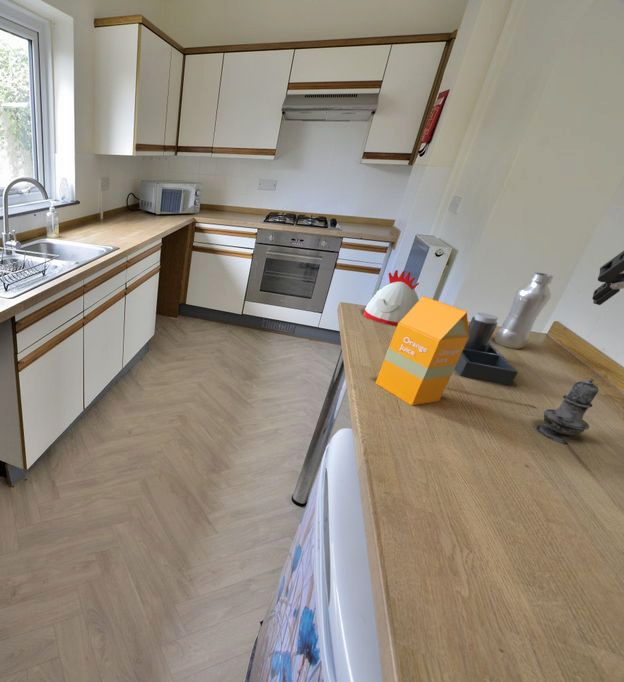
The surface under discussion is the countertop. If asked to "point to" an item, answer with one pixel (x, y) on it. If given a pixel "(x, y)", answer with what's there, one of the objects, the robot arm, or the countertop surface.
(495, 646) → the countertop surface
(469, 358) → the dark grey tray
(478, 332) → the pepper shaker
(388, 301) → the kitchen timer
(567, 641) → the countertop surface
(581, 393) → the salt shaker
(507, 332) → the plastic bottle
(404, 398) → the orange juice
